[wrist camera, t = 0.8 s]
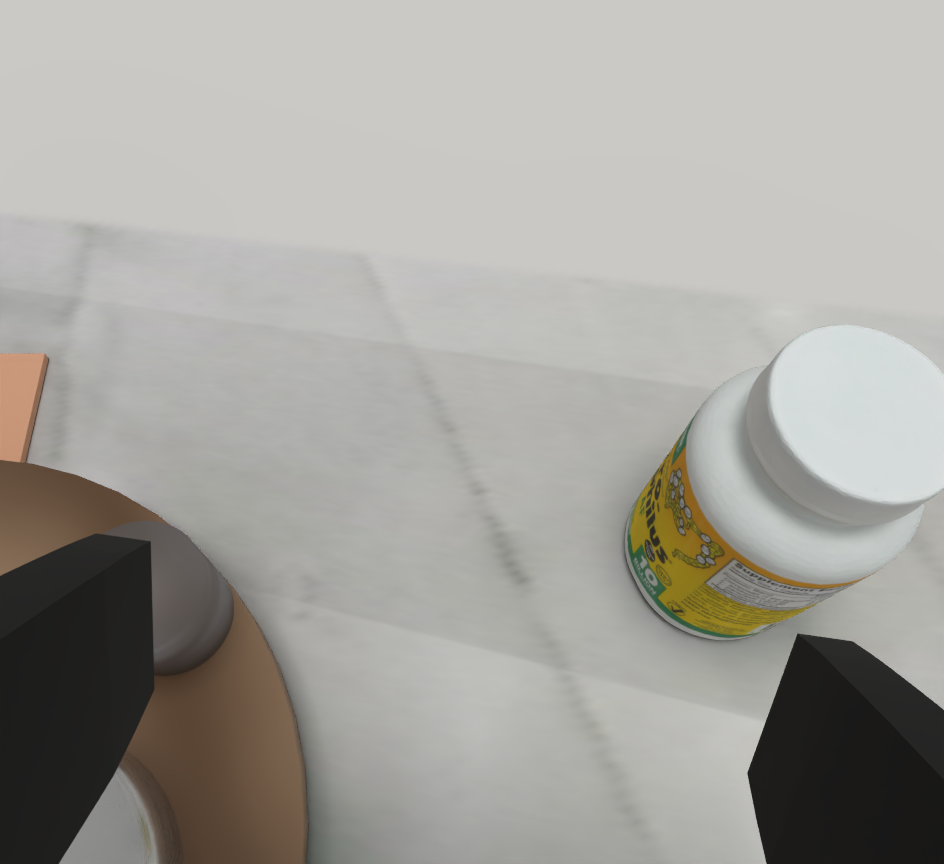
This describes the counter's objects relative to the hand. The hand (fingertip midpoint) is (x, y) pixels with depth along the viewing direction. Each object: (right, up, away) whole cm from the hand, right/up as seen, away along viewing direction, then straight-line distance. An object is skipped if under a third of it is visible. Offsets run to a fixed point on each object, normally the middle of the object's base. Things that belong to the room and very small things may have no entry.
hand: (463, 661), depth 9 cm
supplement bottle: (+7, -1, +15) cm, 17 cm away
